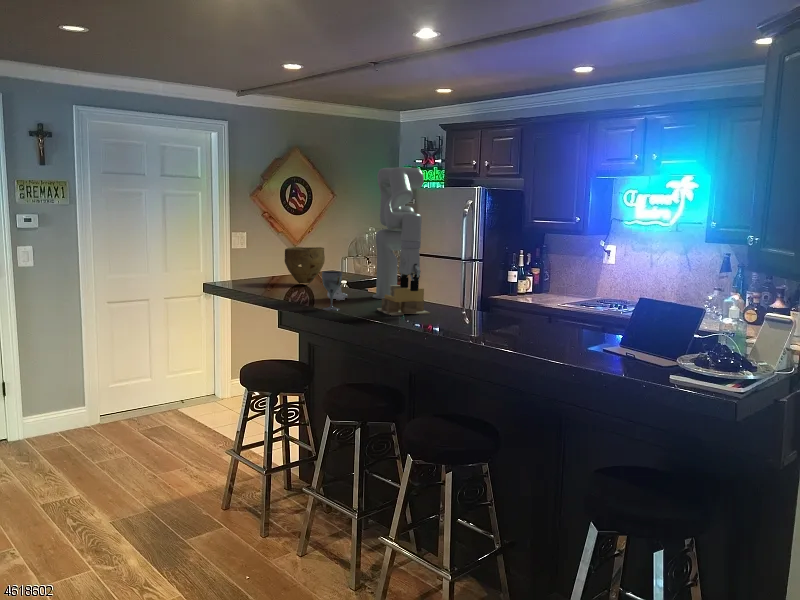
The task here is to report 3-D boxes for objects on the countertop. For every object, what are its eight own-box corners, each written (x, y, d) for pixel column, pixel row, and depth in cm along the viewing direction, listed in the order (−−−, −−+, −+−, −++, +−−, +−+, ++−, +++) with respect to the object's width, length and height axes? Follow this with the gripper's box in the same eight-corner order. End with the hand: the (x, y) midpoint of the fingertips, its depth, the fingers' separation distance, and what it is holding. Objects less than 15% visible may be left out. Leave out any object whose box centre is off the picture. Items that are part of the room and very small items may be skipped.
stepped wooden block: (376, 309, 264) (377, 285, 263) (414, 308, 271) (415, 284, 270) (390, 315, 251) (391, 289, 249) (430, 314, 257) (431, 288, 256)
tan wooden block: (384, 298, 262) (384, 285, 261) (411, 297, 267) (411, 285, 266) (395, 302, 252) (396, 289, 251) (423, 301, 257) (423, 288, 256)
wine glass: (338, 311, 257) (338, 273, 255) (318, 309, 259) (319, 272, 257) (343, 308, 265) (344, 271, 263) (325, 307, 267) (325, 270, 265)
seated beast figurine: (344, 301, 287) (344, 273, 285) (324, 300, 287) (325, 273, 286) (348, 298, 296) (348, 272, 294) (329, 297, 297) (329, 271, 295)
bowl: (297, 288, 324) (298, 248, 322) (276, 284, 339) (277, 246, 337) (332, 286, 338) (332, 248, 335) (310, 282, 353) (311, 245, 350)
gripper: (393, 243, 259) (391, 286, 261) (411, 247, 243) (409, 292, 246) (410, 243, 262) (409, 286, 264) (429, 247, 246) (427, 292, 248)
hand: (409, 289), depth 255 cm, fingers open, 9 cm apart
